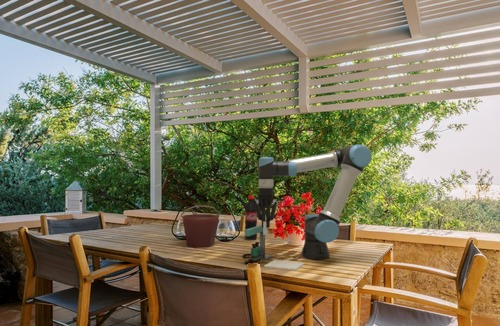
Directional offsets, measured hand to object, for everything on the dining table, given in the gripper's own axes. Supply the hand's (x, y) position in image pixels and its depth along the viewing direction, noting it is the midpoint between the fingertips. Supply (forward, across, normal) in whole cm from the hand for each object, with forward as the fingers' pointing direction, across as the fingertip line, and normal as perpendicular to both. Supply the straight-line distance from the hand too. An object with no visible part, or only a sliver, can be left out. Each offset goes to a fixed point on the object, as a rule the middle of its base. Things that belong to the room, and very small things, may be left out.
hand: (265, 234), depth 200 cm
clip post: (+15, -7, +12) cm, 20 cm away
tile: (+15, +10, 0) cm, 18 cm away
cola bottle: (+15, -37, +63) cm, 75 cm away
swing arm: (0, -7, +3) cm, 7 cm away
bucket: (+15, -56, +28) cm, 64 cm away
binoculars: (+15, -7, -2) cm, 17 cm away
